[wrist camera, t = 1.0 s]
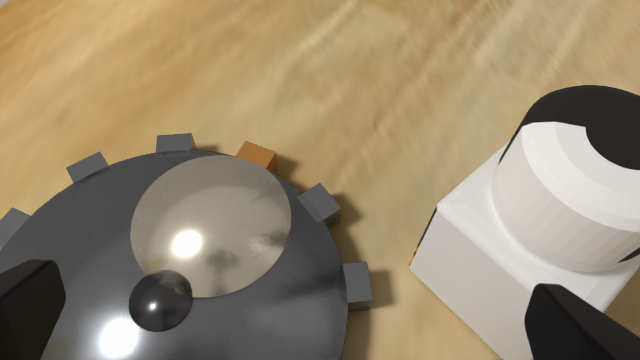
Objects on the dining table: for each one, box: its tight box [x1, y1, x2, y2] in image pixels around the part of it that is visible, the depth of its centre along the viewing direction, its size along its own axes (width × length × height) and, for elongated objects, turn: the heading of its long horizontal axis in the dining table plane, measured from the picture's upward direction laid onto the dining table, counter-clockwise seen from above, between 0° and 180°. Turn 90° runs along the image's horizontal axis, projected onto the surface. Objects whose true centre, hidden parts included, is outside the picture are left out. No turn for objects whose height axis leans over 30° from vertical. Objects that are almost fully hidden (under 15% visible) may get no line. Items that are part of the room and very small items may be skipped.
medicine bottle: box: [409, 85, 640, 360], centre depth 20 cm, size 7×7×12 cm
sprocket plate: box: [0, 133, 373, 360], centre depth 23 cm, size 20×20×2 cm
